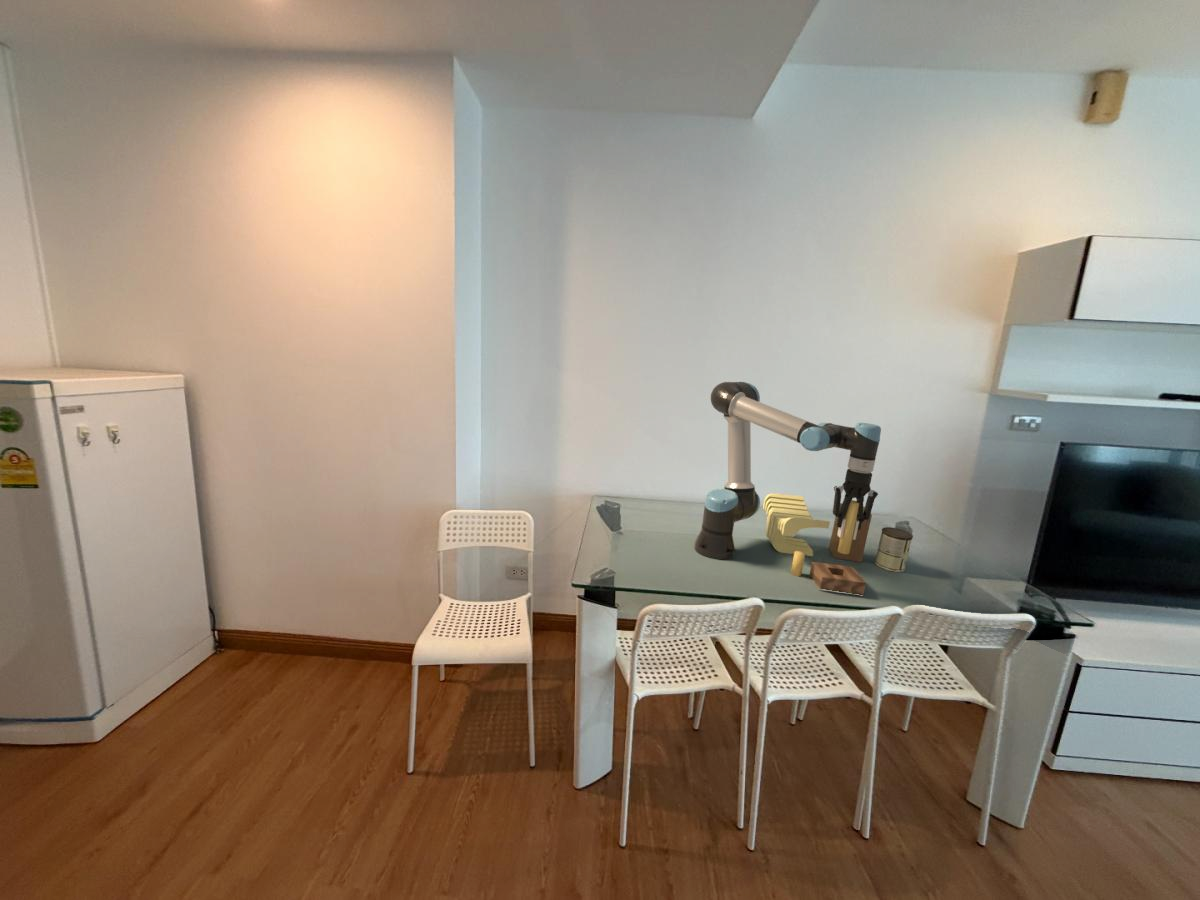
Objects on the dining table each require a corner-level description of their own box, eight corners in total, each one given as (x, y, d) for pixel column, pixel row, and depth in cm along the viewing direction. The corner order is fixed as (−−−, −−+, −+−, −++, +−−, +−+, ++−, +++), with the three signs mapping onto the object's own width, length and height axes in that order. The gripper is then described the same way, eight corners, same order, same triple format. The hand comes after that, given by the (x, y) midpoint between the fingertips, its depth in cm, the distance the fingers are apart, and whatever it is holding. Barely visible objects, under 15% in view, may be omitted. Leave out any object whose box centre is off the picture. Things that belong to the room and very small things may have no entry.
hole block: (819, 590, 167) (822, 577, 166) (809, 574, 179) (812, 561, 178) (863, 596, 166) (866, 582, 165) (849, 579, 178) (852, 567, 177)
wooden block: (861, 562, 194) (872, 514, 189) (834, 558, 195) (844, 510, 191) (854, 552, 203) (864, 506, 199) (828, 548, 205) (837, 502, 201)
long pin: (839, 553, 168) (849, 502, 164) (836, 549, 171) (846, 499, 167) (850, 554, 167) (861, 504, 164) (846, 550, 171) (857, 500, 167)
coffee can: (872, 558, 199) (879, 525, 196) (901, 563, 196) (909, 530, 193) (877, 568, 190) (885, 533, 187) (907, 574, 187) (916, 539, 183)
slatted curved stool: (758, 531, 218) (765, 492, 214) (795, 535, 217) (803, 496, 213) (778, 560, 188) (786, 516, 184) (820, 565, 188) (829, 521, 184)
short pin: (791, 575, 177) (795, 554, 175) (789, 570, 181) (793, 550, 179) (802, 576, 177) (806, 556, 175) (799, 572, 180) (803, 551, 178)
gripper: (837, 470, 161) (824, 538, 166) (891, 476, 159) (876, 544, 164) (829, 465, 168) (817, 530, 173) (881, 470, 166) (867, 536, 171)
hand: (846, 537), depth 168 cm, fingers closed on long pin, 3 cm apart
